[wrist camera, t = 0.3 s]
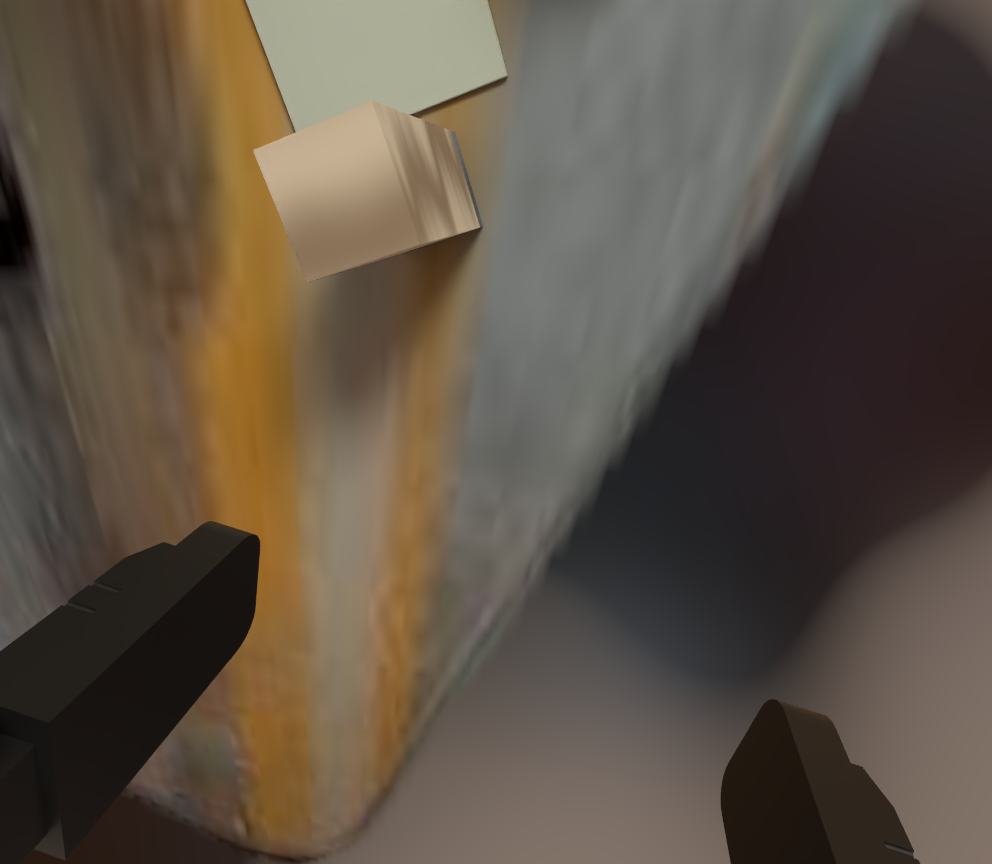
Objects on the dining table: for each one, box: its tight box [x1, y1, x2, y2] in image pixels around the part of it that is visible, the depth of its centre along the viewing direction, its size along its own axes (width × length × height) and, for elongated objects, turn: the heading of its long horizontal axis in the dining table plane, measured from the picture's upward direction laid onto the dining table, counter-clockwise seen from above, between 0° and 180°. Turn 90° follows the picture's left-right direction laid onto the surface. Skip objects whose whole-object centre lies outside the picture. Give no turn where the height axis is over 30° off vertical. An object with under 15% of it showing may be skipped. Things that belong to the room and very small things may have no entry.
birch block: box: [253, 101, 483, 283], centre depth 27 cm, size 5×5×12 cm
